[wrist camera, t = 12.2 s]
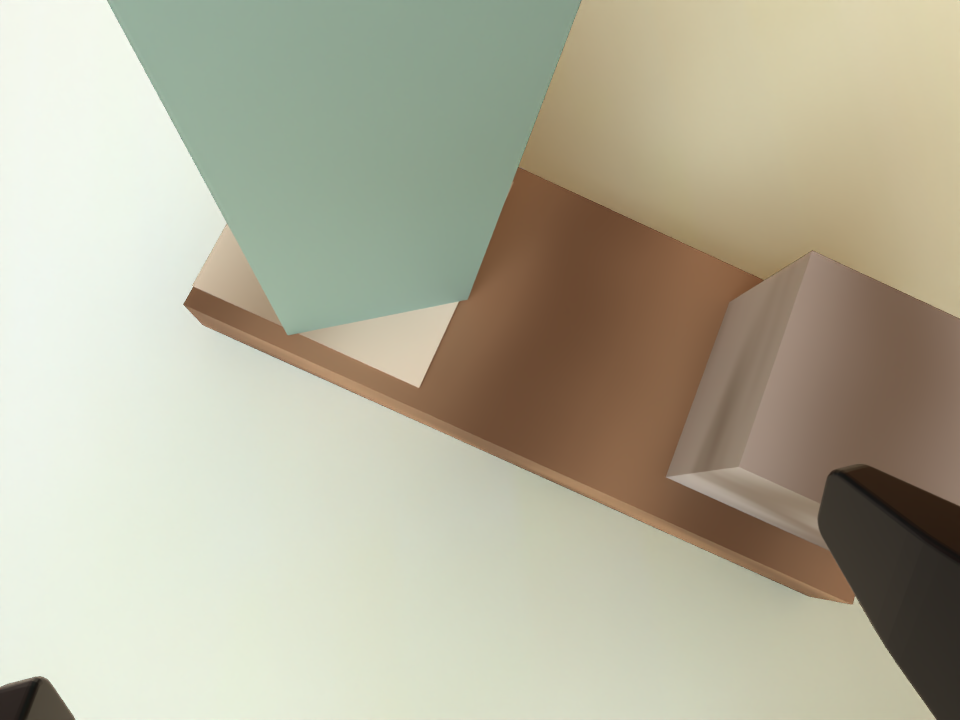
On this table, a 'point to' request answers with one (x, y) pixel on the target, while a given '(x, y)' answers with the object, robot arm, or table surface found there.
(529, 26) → the pillar
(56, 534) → the table surface
